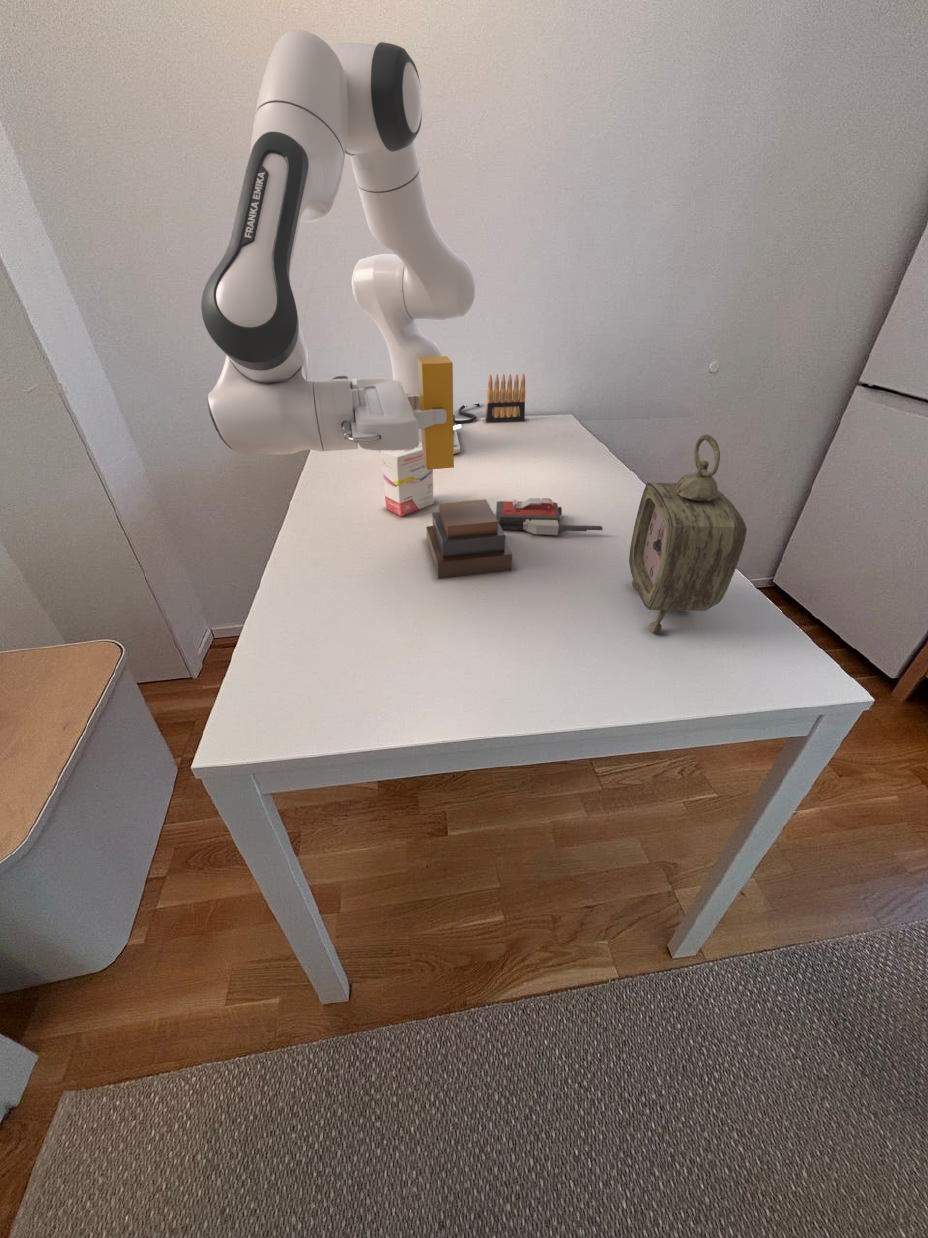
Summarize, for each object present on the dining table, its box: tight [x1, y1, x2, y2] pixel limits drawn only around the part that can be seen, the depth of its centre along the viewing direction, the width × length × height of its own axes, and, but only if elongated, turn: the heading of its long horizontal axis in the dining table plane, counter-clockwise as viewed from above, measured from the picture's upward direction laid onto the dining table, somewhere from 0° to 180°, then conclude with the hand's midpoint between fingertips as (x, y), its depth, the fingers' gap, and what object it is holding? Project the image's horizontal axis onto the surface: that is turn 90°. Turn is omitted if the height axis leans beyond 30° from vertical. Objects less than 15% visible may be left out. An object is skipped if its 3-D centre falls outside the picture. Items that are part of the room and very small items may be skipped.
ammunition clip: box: [485, 373, 526, 423], centre depth 139 cm, size 11×2×12 cm, turn 96°
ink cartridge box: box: [380, 441, 435, 517], centre depth 97 cm, size 9×5×15 cm, turn 134°
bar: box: [418, 355, 455, 470], centre depth 72 cm, size 4×4×14 cm
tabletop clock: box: [628, 434, 748, 634], centre depth 67 cm, size 14×9×25 cm, turn 178°
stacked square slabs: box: [425, 498, 513, 579], centre depth 85 cm, size 12×12×8 cm
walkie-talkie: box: [495, 497, 604, 536], centre depth 94 cm, size 9×4×20 cm
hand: (442, 409), depth 72 cm, fingers closed on bar, 4 cm apart
